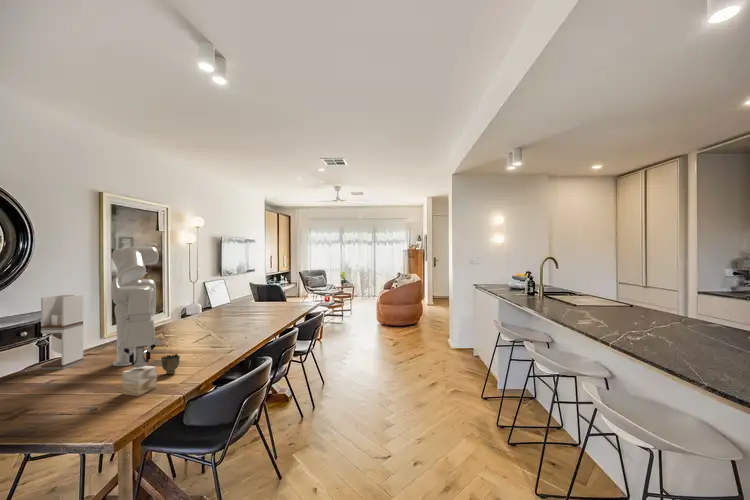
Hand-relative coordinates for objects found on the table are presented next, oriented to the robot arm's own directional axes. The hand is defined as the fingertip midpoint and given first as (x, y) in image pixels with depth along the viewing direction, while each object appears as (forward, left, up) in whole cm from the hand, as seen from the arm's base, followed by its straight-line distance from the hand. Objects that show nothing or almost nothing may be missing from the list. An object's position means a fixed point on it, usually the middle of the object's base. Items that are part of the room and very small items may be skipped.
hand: (140, 362), depth 136 cm
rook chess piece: (0, 0, -2) cm, 2 cm away
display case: (-14, -68, -12) cm, 70 cm away
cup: (-19, -5, -12) cm, 23 cm away
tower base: (0, 0, -12) cm, 12 cm away
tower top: (0, 0, -7) cm, 7 cm away
